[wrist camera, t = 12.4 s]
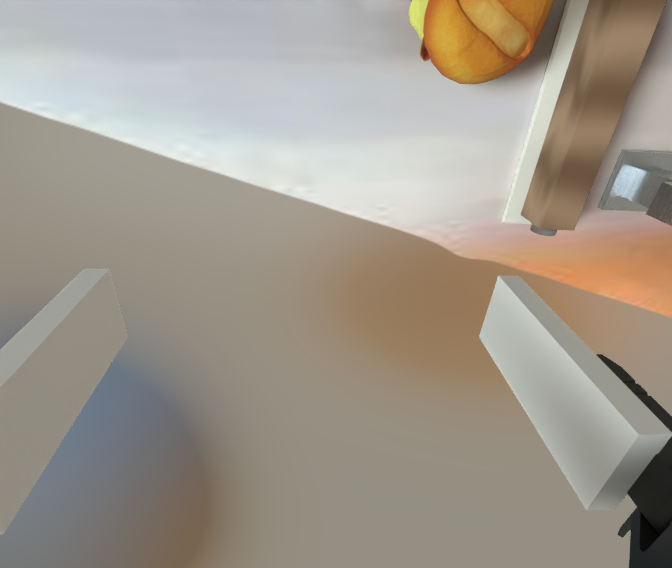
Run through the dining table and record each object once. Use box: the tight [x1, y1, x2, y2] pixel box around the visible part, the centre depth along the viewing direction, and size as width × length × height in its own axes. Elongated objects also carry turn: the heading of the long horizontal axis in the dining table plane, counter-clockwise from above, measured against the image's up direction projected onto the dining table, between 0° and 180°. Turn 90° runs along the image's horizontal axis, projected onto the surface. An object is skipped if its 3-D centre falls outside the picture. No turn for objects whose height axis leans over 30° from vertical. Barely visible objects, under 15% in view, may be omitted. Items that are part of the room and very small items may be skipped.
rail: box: [521, 0, 667, 236], centre depth 33 cm, size 26×4×4 cm, turn 177°
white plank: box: [502, 0, 589, 224], centre depth 35 cm, size 26×7×1 cm, turn 177°
